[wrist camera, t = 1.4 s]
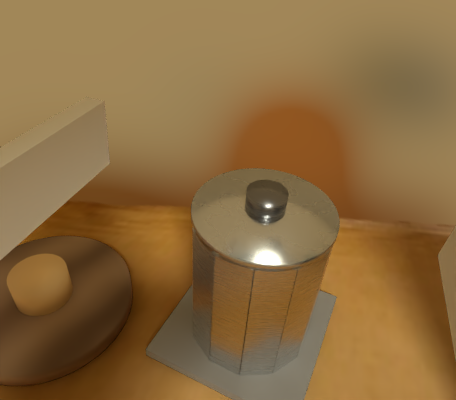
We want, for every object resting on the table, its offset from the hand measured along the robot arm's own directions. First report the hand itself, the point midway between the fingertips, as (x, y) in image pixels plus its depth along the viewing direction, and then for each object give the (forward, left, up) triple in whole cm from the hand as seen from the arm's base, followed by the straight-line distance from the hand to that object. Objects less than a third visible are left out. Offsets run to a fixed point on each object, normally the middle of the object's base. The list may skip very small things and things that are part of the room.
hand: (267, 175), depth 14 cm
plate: (+18, -2, -21) cm, 27 cm away
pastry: (+18, -2, -19) cm, 26 cm away
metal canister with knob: (+2, -8, -20) cm, 21 cm away
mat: (+2, -8, -21) cm, 22 cm away
